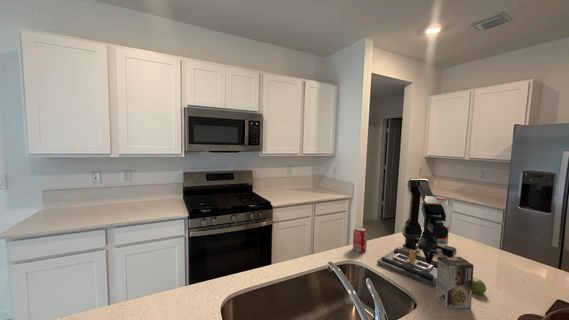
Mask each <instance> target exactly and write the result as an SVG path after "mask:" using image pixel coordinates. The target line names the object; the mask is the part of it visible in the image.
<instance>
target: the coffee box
mask: <svg viewBox="0 0 569 320" xmlns="http://www.w3.org/2000/svg"><path fill="white" fill-rule="evenodd" d="M437 262H438V266H437V283H436V285H435V286H436V287H435V299H437V300H438V302H440V303H441V305H442V306H444V307H445V308H446V309H471V308H472V297H473V291H472V283H473V278H474V264H472V263H471V262H470V261H468V260H467V259H466V258H463V257H462V256H454V257H447V256H438V257H437Z"/></svg>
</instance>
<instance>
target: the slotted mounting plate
mask: <svg viewBox="0 0 569 320" xmlns="http://www.w3.org/2000/svg"><path fill="white" fill-rule="evenodd" d="M393 250H394V252H396V253H400V254H402V255H405V256H408V257H409V252H410V251H407V250H404V249H401V248H397V247H396V248H394V249H393ZM380 258H381V259H382V260H384V261H387V262H389V263H392V264H394V265H397V266H400V267H402V268H405V269H407V270H410V271H412V272H415V273H417V274H420V275H422V276H425V277H427V278H430V279H432V280H433V276H432V275H429V274H426V273H424V272H421V271H419V270H416V269H413V268H411V267H408V266H406V265H403V264H400V263H398V262H395V261H393V260H390V259H387V258H385V257H383V256H381V257H380ZM416 259H417V260H419V261H422V262H425V263H427V261H426V258H425V256H421V255H418V254H416ZM430 265H433V266H436V267H437V266H438V261H436V260H432V261H431V263H430Z"/></svg>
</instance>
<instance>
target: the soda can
mask: <svg viewBox="0 0 569 320" xmlns="http://www.w3.org/2000/svg"><path fill="white" fill-rule="evenodd" d="M352 233H353V237H352V247H353V250H354V251H356V252H357V253H364V252H366V250H367V243H368V241H367V240H368V231H367V228H365V227H362V226H356V227H354V230H353V232H352Z"/></svg>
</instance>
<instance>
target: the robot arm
mask: <svg viewBox="0 0 569 320" xmlns="http://www.w3.org/2000/svg"><path fill="white" fill-rule="evenodd" d="M407 187H408V191H409V193H410V201H409V203H410V204H409V213H408V214H409V215H408V219H407V220H406V221H405V224H404V226H403V228H402V229H401V230H402V231H401V233H402V234H401V235H402V236H403V237H404V238H405V239H404V244H402V247H404V248H407V249H410V250H411V249H412V250H415V251H416V249H418V250H419V251H421V252H422V253H423V255H424V257H425V258H426V261H427V264H429V265H430V263H431V261H432V260H433V259H434V258H435V256H436V255H437V256H438V255H439V254H440V253H441V254H442V255H443V257H456V255H457V248H456V247H455V246H454V247H453V246H451V245H445V246H444V247H441V246H438V239H443V238H445V237H447V235H448V236H449V232H448V230H447V228H446V227H445V226H444V225H443V222H442V221H446V219H445V218H446V215H445V211H444V208H443V206H442V205H441V203H440V202H439V200H437V199H436V197H435V196H434V194H433V192H432V190H431V187H430V184H429V180H428V179H426V178H410V180H409V179H408V181H407ZM421 199H422V204H421ZM420 208H421V213H422V216H423V229H422V227H421V226H422V225H421V224H420V222H419V217H420V216H419V215H420ZM433 215H434V216H433ZM440 215H441V217H440ZM433 261H434V260H433Z"/></svg>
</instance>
